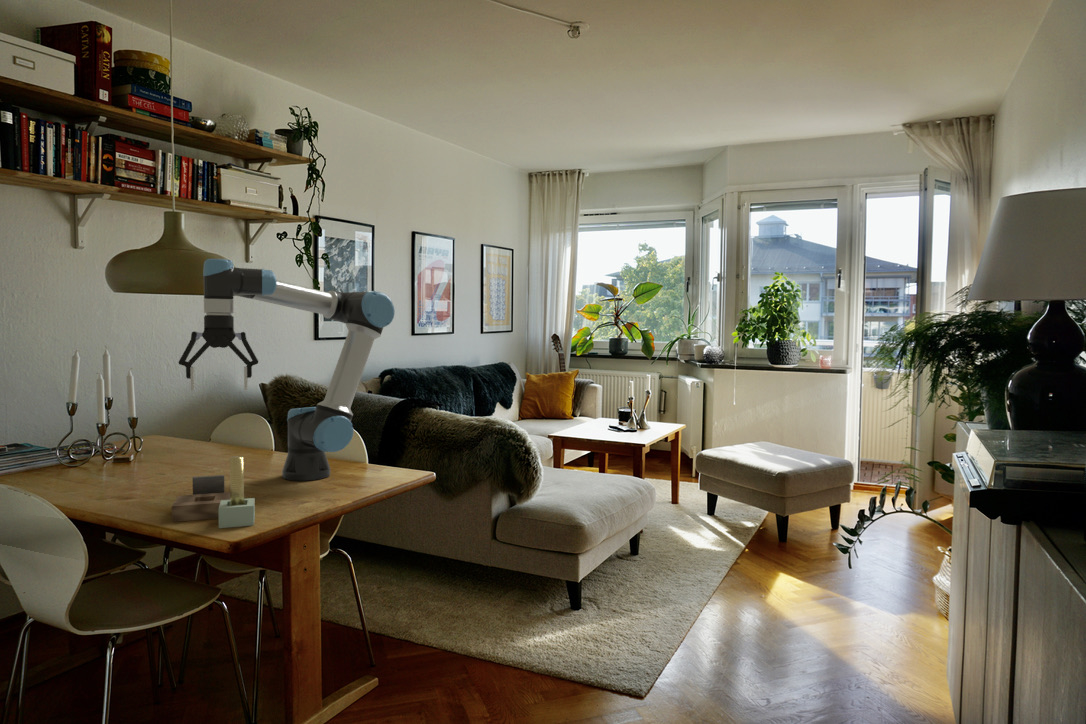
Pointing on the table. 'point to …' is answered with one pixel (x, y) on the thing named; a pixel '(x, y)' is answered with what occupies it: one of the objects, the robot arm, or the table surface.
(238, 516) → the hollow square block
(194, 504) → the socket block
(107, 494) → the table surface
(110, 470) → the table surface
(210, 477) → the grey t-shaped plug
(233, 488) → the peg
